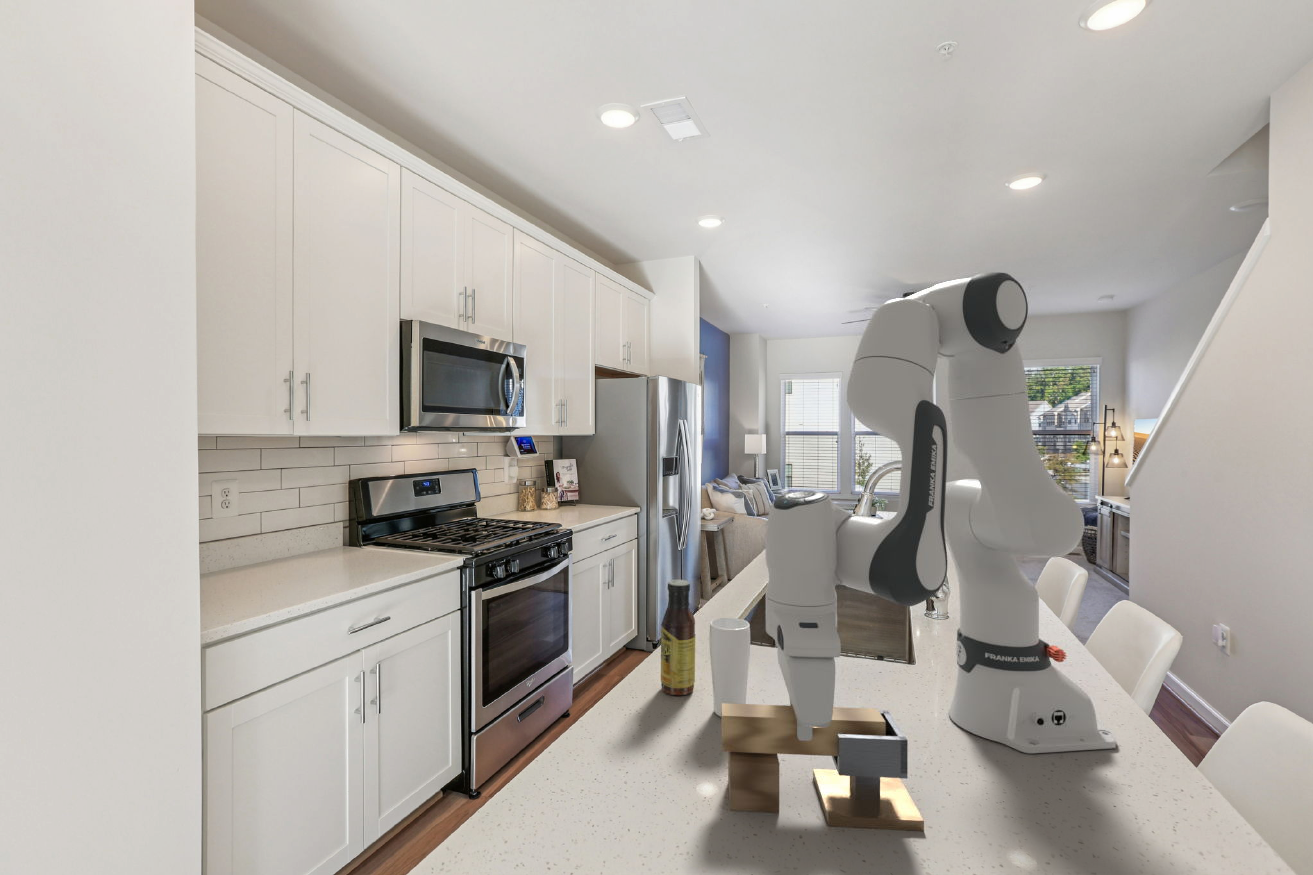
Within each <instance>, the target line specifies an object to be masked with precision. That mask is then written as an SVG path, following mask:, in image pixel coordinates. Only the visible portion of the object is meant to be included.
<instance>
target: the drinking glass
mask: <svg viewBox="0 0 1313 875" xmlns="http://www.w3.org/2000/svg"><path fill="white" fill-rule="evenodd" d="M750 626H751V624H750V623H749V622H748V621H747V620H745V619H741V618H737V617H736V618H735V617H718V618H715V619H712V620H710V623H709V641H708V642H709V656H710V657H709V658H710V670H711V681H712V682H711V683H712V696H713V711H714V713H715V714H716V715H717V716H718V717H720V718H722V703H729V704H747V703H746V702H747V689H748V679H749V666H750V656H751V627H750Z"/></svg>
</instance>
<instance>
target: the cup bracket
mask: <svg viewBox="0 0 1313 875" xmlns="http://www.w3.org/2000/svg"><path fill="white" fill-rule="evenodd" d="M878 711H879V712H880V714H881V715H882V717H883V719H884V720H885V722H886V736H874V735H850V734H838V756H831V758H832V761H833V763H834V766H835V768H836V769H827V768H826V769H824V768H823V769H821V768H812V769H813V770H812V778H813V781H814V784H815V788H816V791H817V793H818V794H817V795H818V797H819V801H820V804H821V807H822V811H823V814H824V817H825V820H826V822H827V826H828V827H842V828H857V829H858V828H859V829H861V828H862V829H876V830H877V829H880V830H894V831H895V830H896V831H897V830H898V831H914V832H915V831H916V832H924V831H925V820H924V818H923V816H922V814H921V813H920V811H919V810H918V808H917V806H916V804H915V803H914V801H913V798H912V797H911V796H910V794H909V792H908V790H907V789H906V787H905V785H904V783H903V781H902V780H901V779H904V780H905V779H908V768H909V767H908V760H909V759H908V747H909V746H908V745H909V744H908V738H907V737H906V735H905V734H904V733H903V731H902V730H901V728H900V726H899V725H898V724H897V721H895V719H894V717H893V716H892V715H891V713H890V712H889V710H878Z"/></svg>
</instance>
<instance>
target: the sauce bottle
mask: <svg viewBox="0 0 1313 875" xmlns="http://www.w3.org/2000/svg"><path fill="white" fill-rule="evenodd" d="M667 591H668V595H667V596H668V602H667V607H666V610H665V613H664V616H663V619H662V621H661V625H660V626H661V627H660V682H661V690H662V691H663V692H665V693H666V694H668V695H669V696H685V695H689V694H692V692H693V691H694V689H695V688H694V687H695V682H696V679H695V678H696V674H695V673H696V633H695V632H696V619H695V616H694V614H693V612H692V611H691V609H690V602H689V601H690V591H691V583H690V582H689V581H688V580H686V579H672V580H669V581H668V582H667Z"/></svg>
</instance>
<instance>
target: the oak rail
mask: <svg viewBox="0 0 1313 875" xmlns="http://www.w3.org/2000/svg"><path fill="white" fill-rule="evenodd" d="M796 720H797V718H796V715H795V712H794V709H793V706H790V705H783V704H782V705H780V704H776V705H775V704H755V703H754V704H752V703H748V704H747V703H746V704H729V703H722V717H721V749H722V752H727V753H728V752H748V753H772V754H777V755H798V756H799V755H800V756H801V755H803V756H822V757H824V756H826V757H832V756H838V734H850V735H874V736H886V722H885V720H884V719H883V717H882V715H881V714H880V712H879V711H878V708H869V707H868V708H867V707H866V708H865V707H843V706H842V707H838V706H836V707H835V706H833V715H832V719H831V722H830V724H829V726H828V727H812V739H811V740H810V741H801V740H799V739H798V737H797V733H796Z"/></svg>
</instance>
